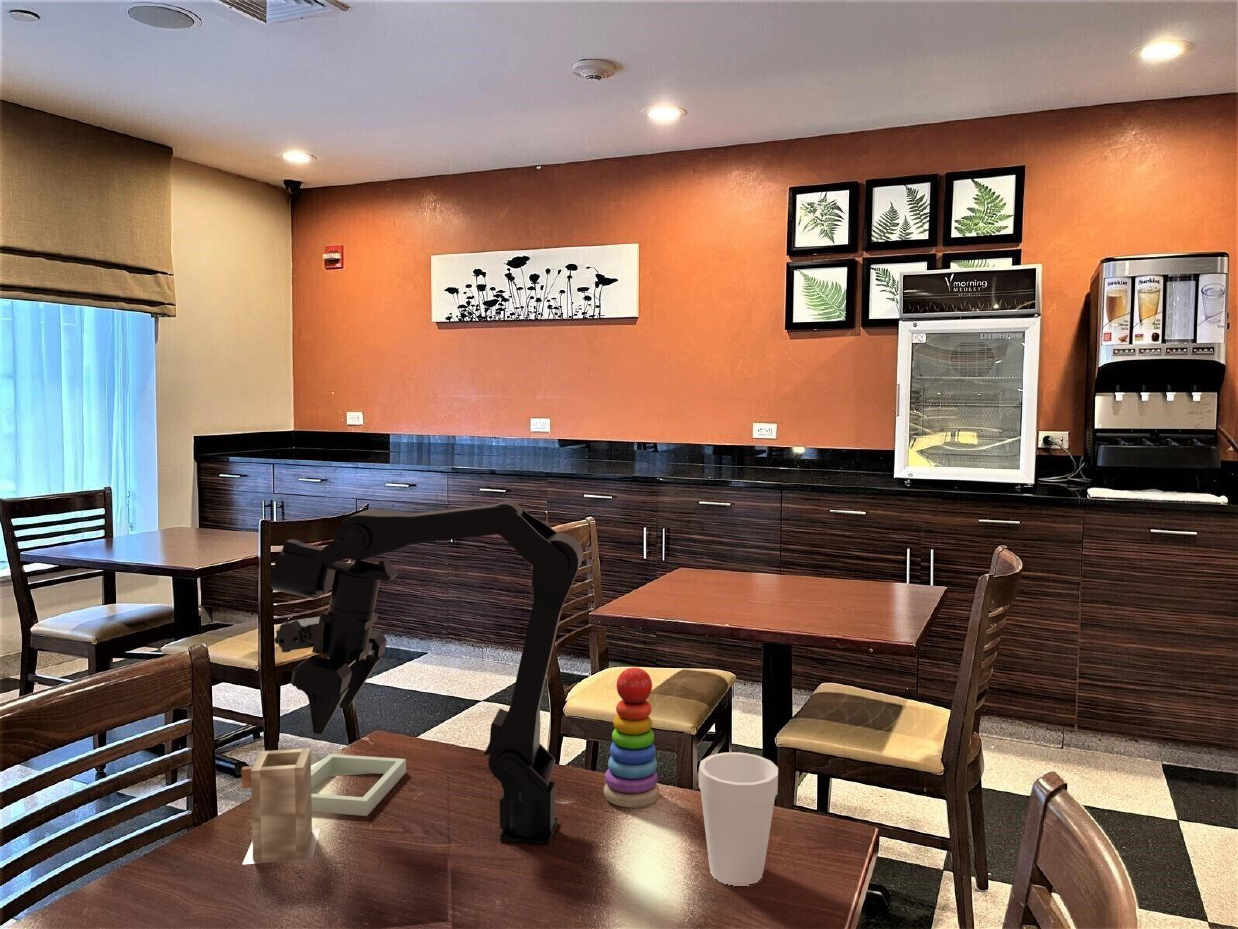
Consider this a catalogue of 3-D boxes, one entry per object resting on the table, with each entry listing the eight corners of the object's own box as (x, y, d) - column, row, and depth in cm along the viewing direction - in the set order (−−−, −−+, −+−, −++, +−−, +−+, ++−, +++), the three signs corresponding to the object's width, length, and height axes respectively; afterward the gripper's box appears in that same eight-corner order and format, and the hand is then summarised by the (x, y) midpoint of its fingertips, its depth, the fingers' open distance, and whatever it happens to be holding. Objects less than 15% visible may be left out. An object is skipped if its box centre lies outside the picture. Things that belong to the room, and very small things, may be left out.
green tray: (406, 778, 133) (405, 759, 133) (366, 823, 119) (366, 801, 119) (329, 773, 135) (329, 754, 135) (282, 816, 121) (282, 794, 121)
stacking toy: (660, 811, 124) (661, 678, 122) (602, 810, 124) (603, 677, 122) (658, 786, 131) (660, 661, 130) (604, 785, 132) (605, 660, 130)
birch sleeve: (312, 831, 115) (310, 748, 114) (305, 855, 109) (303, 767, 108) (249, 836, 113) (247, 752, 113) (238, 860, 108) (236, 772, 107)
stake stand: (321, 834, 116) (320, 801, 116) (312, 866, 108) (311, 830, 108) (256, 840, 115) (255, 806, 114) (242, 872, 107) (241, 836, 106)
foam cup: (725, 902, 102) (727, 791, 101) (682, 863, 110) (684, 761, 109) (792, 881, 106) (794, 775, 105) (746, 846, 114) (748, 747, 113)
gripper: (319, 578, 126) (300, 684, 127) (260, 610, 107) (238, 734, 109) (396, 595, 125) (376, 701, 127) (350, 630, 107) (327, 753, 108)
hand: (331, 720), depth 118 cm, fingers open, 9 cm apart
